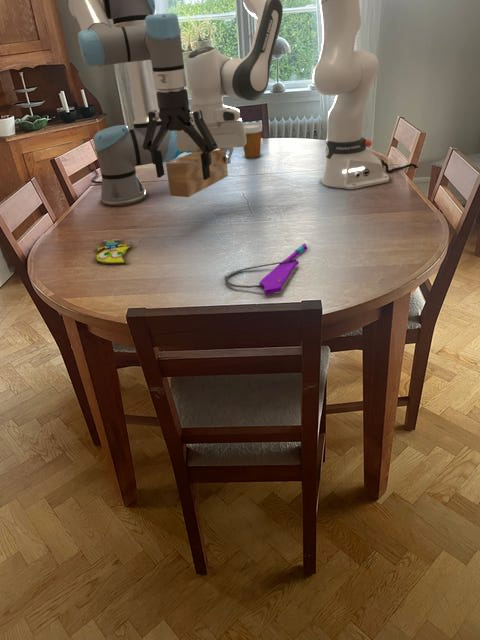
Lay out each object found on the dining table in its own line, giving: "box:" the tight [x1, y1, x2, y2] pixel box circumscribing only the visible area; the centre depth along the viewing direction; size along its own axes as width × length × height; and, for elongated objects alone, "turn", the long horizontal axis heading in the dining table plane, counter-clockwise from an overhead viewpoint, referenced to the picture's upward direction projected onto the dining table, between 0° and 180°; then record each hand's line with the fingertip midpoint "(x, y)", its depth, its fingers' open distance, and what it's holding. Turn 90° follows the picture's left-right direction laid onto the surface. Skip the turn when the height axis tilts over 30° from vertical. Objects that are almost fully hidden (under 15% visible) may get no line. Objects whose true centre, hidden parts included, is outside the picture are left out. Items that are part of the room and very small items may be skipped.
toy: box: [95, 238, 133, 265], centre depth 129 cm, size 10×1×15 cm
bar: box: [165, 148, 229, 198], centre depth 135 cm, size 23×6×9 cm, turn 153°
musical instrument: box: [224, 243, 308, 296], centre depth 113 cm, size 24×2×20 cm
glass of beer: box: [242, 123, 263, 159], centre depth 199 cm, size 10×10×12 cm
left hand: (183, 177), depth 127 cm, fingers open, 13 cm apart
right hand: (214, 164), depth 142 cm, fingers closed on bar, 7 cm apart
